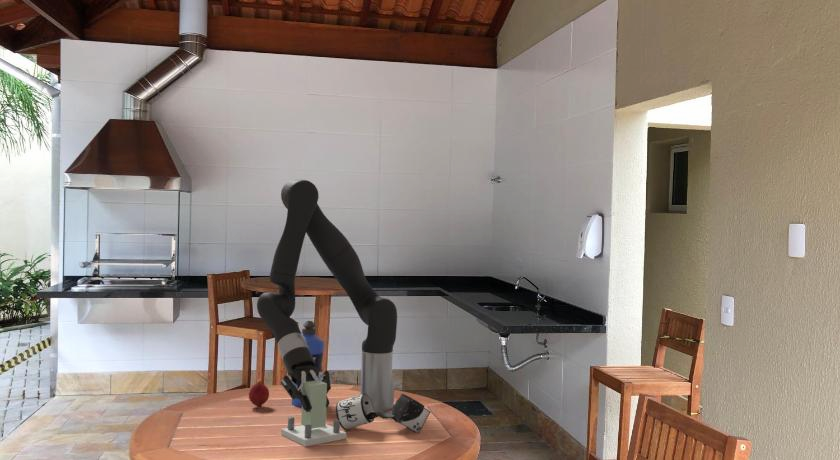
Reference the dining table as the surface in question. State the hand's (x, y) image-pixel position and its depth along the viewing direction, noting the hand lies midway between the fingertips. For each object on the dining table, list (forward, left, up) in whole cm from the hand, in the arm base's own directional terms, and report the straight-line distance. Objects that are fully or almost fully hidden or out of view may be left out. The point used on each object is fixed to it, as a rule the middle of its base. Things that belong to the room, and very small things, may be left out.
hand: (318, 408), depth 187 cm
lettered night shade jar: (-18, +2, -8) cm, 20 cm away
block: (0, -2, -5) cm, 5 cm away
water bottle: (-16, -32, -8) cm, 36 cm away
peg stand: (0, -2, -8) cm, 8 cm away
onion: (-2, -36, -8) cm, 37 cm away
